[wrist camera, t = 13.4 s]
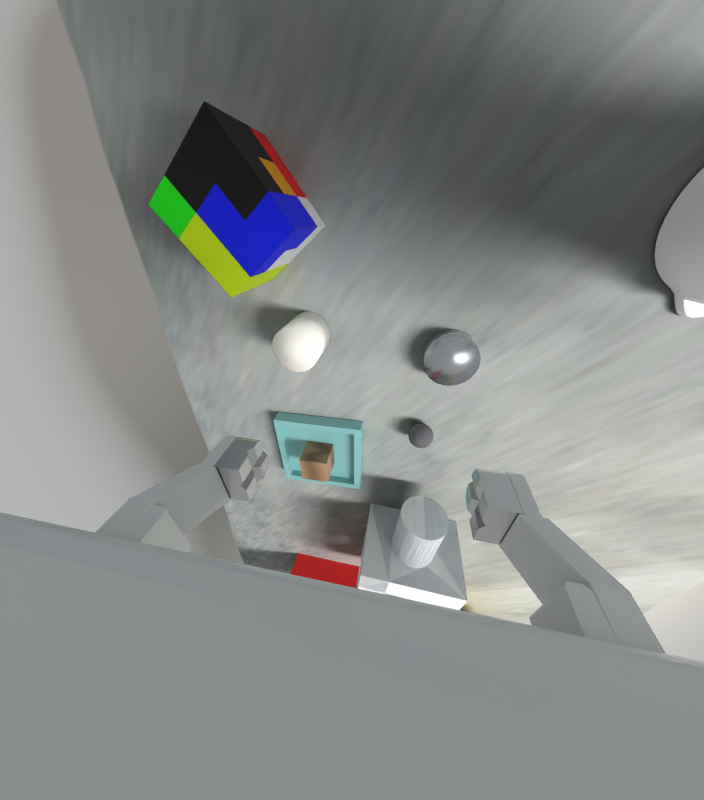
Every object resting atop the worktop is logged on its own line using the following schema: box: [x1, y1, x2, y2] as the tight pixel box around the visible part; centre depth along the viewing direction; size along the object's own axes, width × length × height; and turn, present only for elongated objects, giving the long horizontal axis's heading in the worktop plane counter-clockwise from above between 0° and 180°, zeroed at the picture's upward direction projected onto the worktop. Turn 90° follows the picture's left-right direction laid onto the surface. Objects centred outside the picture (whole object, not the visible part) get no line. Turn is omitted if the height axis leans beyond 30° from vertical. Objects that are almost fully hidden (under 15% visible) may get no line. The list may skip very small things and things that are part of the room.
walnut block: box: [299, 441, 334, 482], centre depth 50 cm, size 5×5×5 cm
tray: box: [273, 412, 363, 489], centre depth 52 cm, size 16×16×2 cm
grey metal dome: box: [423, 330, 480, 386], centre depth 36 cm, size 7×7×3 cm
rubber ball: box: [409, 424, 433, 448], centre depth 44 cm, size 4×4×4 cm
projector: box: [356, 496, 467, 610], centre depth 57 cm, size 35×19×15 cm, turn 176°
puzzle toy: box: [149, 102, 325, 297], centre depth 28 cm, size 10×10×10 cm
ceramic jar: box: [272, 311, 331, 372], centre depth 36 cm, size 6×6×7 cm
